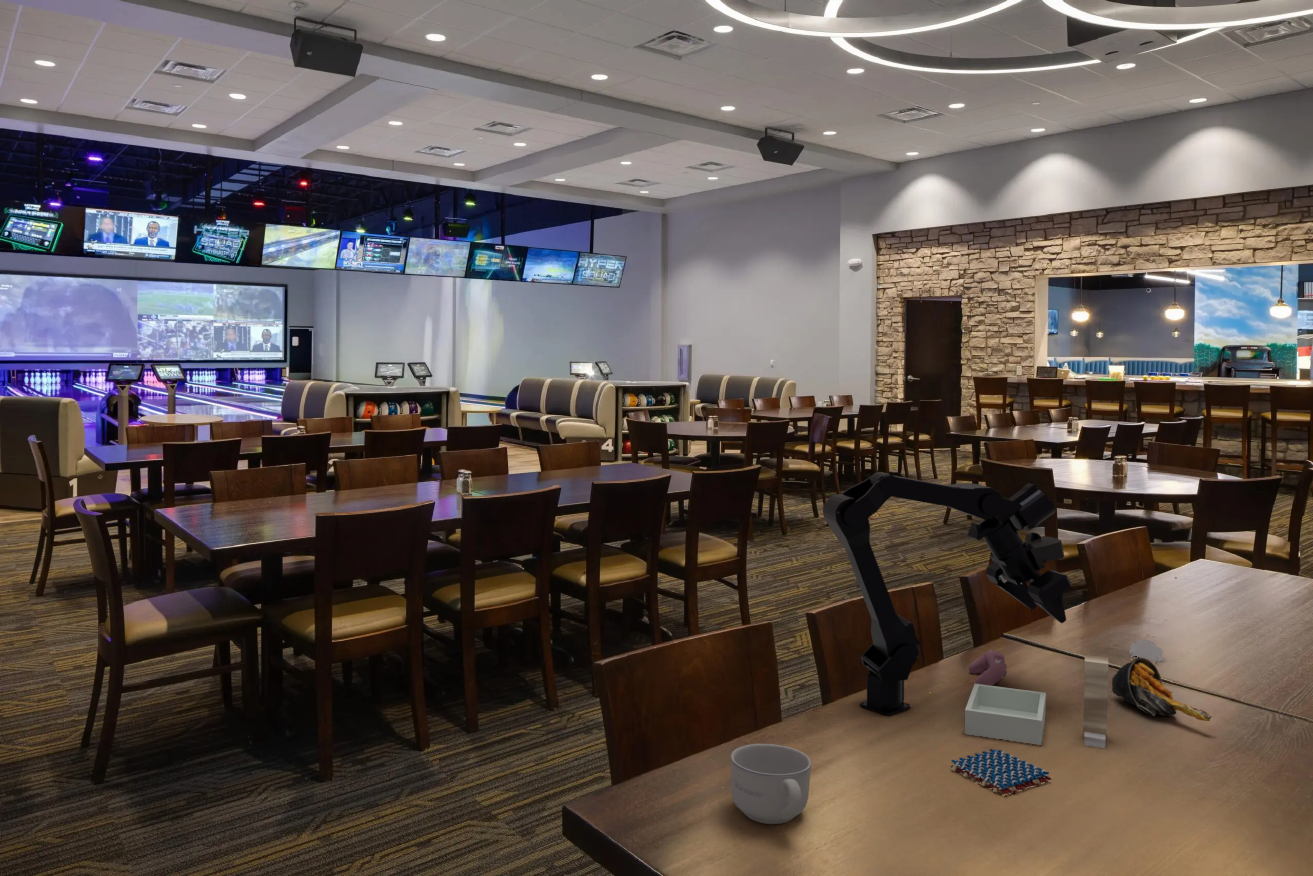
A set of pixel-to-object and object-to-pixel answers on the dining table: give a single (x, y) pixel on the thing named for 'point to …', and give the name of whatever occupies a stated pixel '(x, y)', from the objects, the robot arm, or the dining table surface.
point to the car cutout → (1146, 650)
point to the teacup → (770, 782)
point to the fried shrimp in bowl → (1149, 690)
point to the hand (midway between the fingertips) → (1048, 614)
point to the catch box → (1006, 714)
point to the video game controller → (989, 668)
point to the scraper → (1095, 701)
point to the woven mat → (1000, 771)
